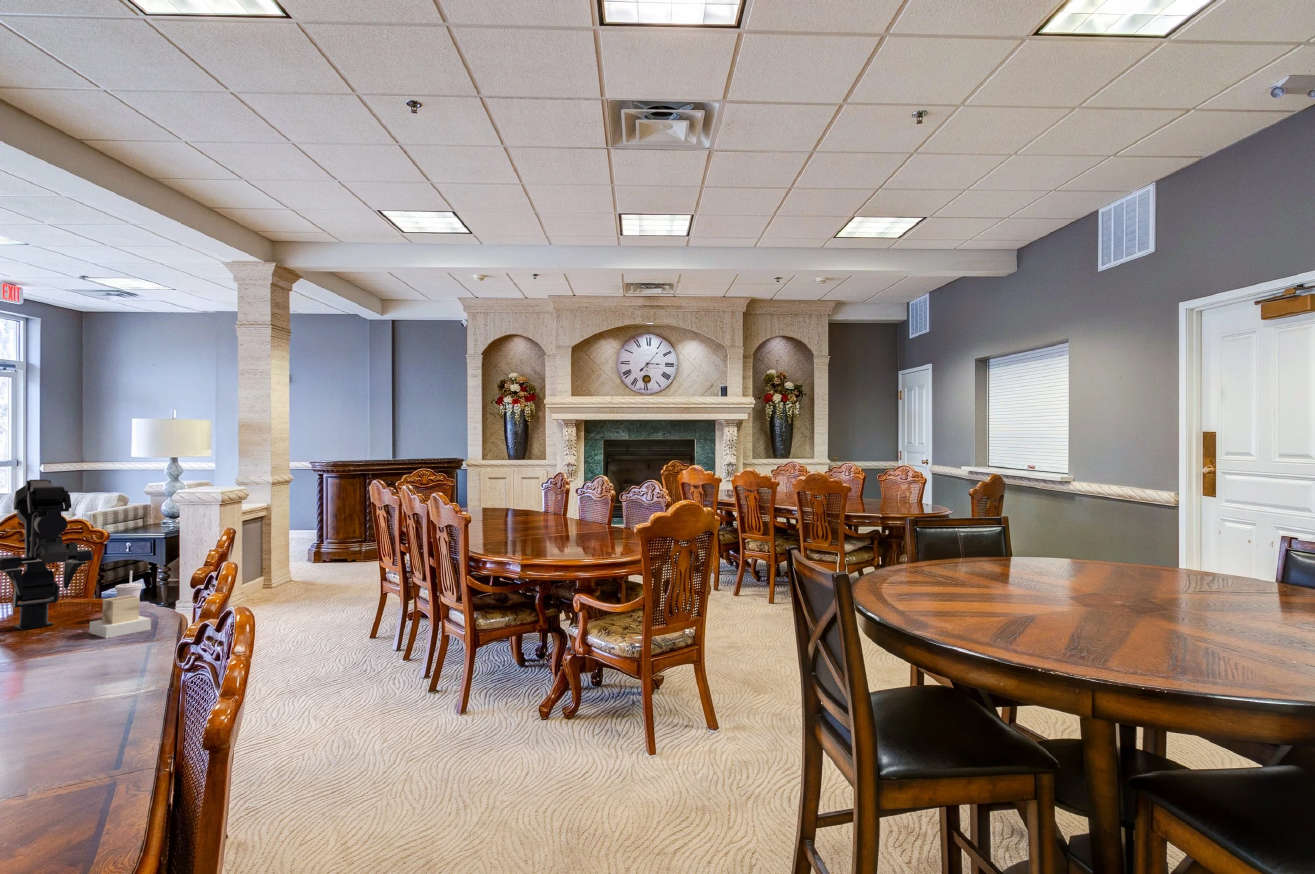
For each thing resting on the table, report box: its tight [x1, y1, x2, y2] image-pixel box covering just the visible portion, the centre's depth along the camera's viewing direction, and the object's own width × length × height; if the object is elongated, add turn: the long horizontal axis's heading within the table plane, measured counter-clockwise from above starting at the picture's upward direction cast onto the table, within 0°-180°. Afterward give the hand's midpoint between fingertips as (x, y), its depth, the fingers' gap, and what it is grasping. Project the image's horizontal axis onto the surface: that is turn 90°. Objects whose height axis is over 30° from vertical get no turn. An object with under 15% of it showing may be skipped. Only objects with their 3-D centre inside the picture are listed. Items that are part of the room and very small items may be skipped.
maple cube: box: [101, 595, 141, 624], centre depth 175 cm, size 6×6×6 cm
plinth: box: [89, 615, 152, 639], centre depth 175 cm, size 10×10×3 cm
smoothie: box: [114, 570, 143, 598], centre depth 190 cm, size 6×6×14 cm
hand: (43, 591), depth 169 cm, fingers open, 9 cm apart
